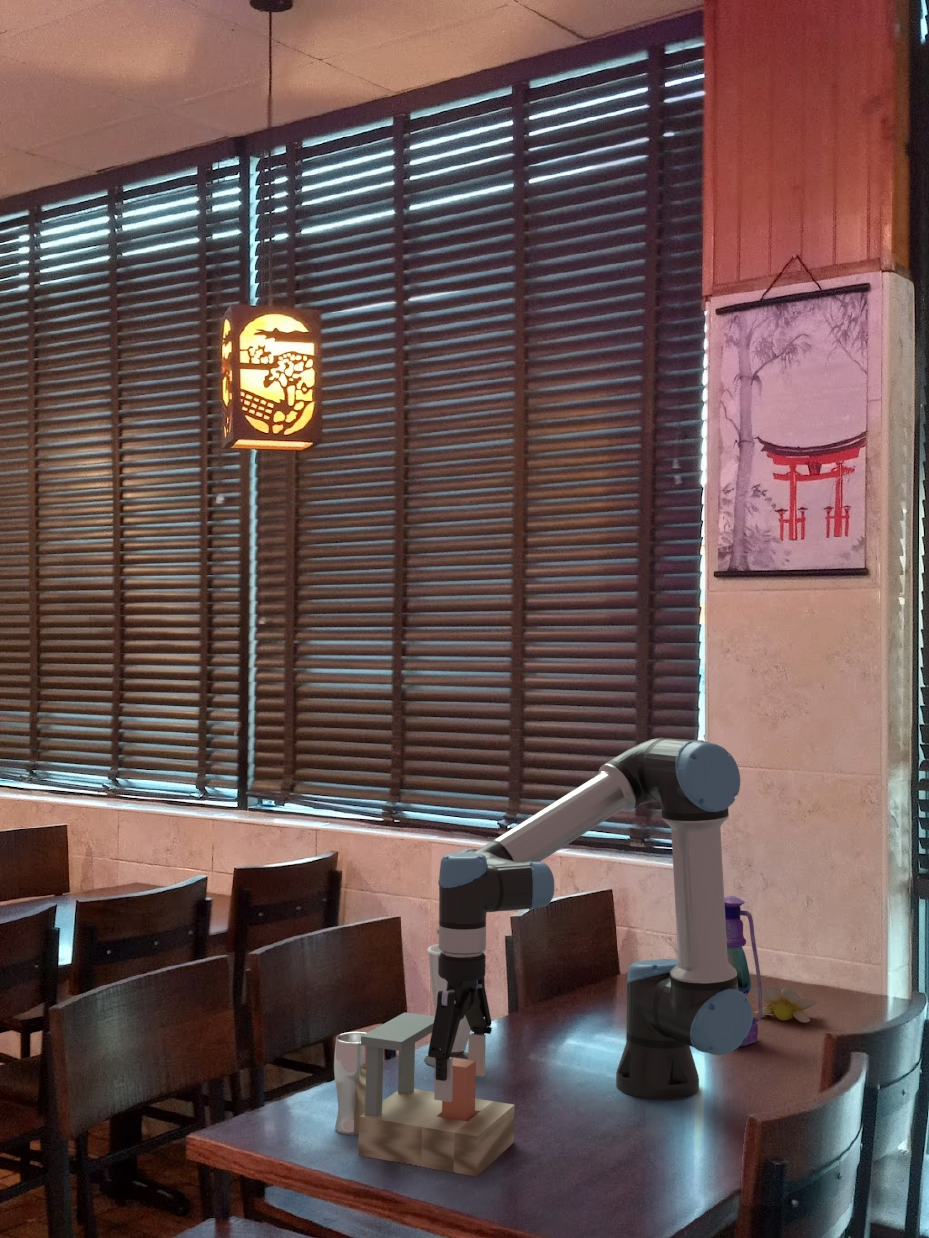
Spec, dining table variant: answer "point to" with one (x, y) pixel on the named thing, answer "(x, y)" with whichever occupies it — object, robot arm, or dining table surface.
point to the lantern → (742, 956)
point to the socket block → (436, 1133)
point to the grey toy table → (393, 1037)
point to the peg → (461, 1091)
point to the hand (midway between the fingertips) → (460, 1087)
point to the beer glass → (350, 1081)
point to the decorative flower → (784, 1003)
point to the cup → (436, 986)
